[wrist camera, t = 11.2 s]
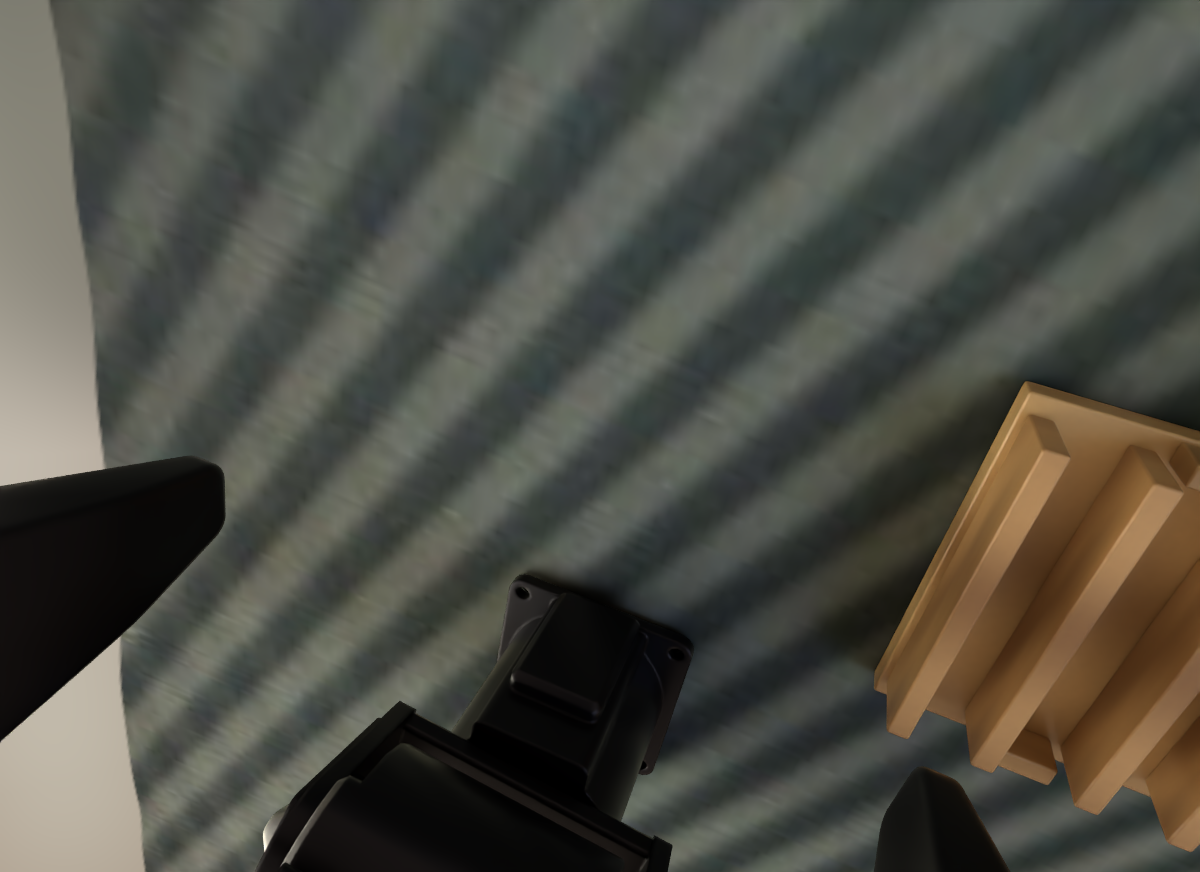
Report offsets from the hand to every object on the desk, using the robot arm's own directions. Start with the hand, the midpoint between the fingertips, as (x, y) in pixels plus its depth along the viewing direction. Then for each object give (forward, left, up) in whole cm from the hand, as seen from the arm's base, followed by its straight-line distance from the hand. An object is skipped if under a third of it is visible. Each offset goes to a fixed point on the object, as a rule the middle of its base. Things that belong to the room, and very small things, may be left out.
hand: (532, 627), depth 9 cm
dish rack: (-4, -11, -13) cm, 18 cm away
